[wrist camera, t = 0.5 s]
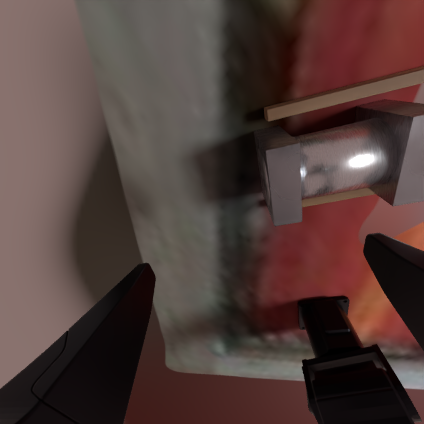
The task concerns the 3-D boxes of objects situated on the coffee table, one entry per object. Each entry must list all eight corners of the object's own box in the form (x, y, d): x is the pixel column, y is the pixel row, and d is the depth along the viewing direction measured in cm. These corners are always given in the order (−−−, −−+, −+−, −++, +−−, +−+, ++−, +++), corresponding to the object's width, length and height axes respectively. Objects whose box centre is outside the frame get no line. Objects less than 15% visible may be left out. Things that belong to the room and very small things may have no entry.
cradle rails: (444, 172, 19) (460, 178, 18) (274, 203, 21) (277, 211, 20) (486, 49, 14) (512, 46, 13) (263, 107, 17) (267, 109, 15)
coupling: (384, 99, 16) (455, 107, 11) (373, 169, 19) (425, 200, 14) (253, 131, 18) (266, 150, 13) (261, 191, 21) (274, 226, 16)
